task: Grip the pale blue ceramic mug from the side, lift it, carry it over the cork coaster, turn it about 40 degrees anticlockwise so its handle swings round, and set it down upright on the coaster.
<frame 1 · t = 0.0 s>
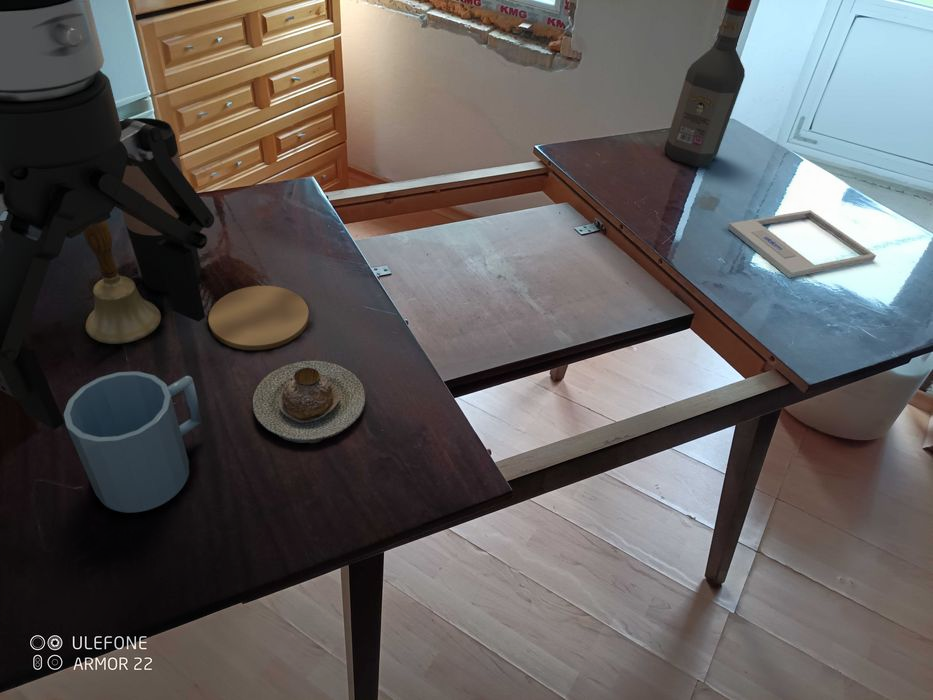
hand: (124, 361, 51), 19 cm above the table, tool pointing down, fingers open, 13 cm apart
coaster: (259, 318, 85), on the table
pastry: (310, 406, 75), on the table
hand bell: (124, 323, 83), on the table
photo frame: (798, 245, 112), on the table
liquor: (688, 156, 135), on the table
travel mug: (172, 277, 90), on the table
mug: (143, 476, 66), on the table
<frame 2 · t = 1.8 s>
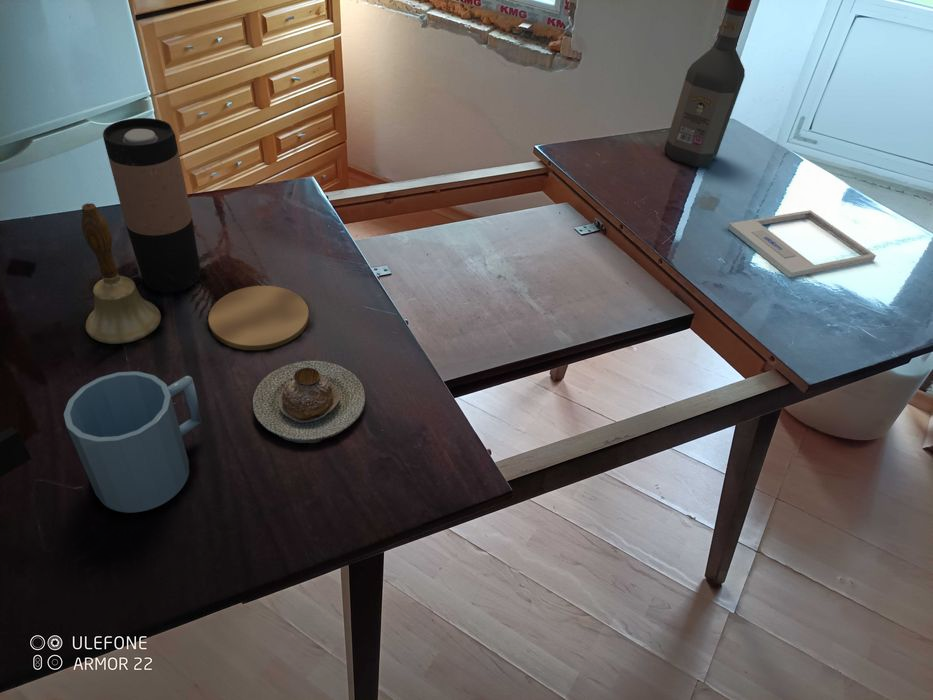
nothing on the table moved.
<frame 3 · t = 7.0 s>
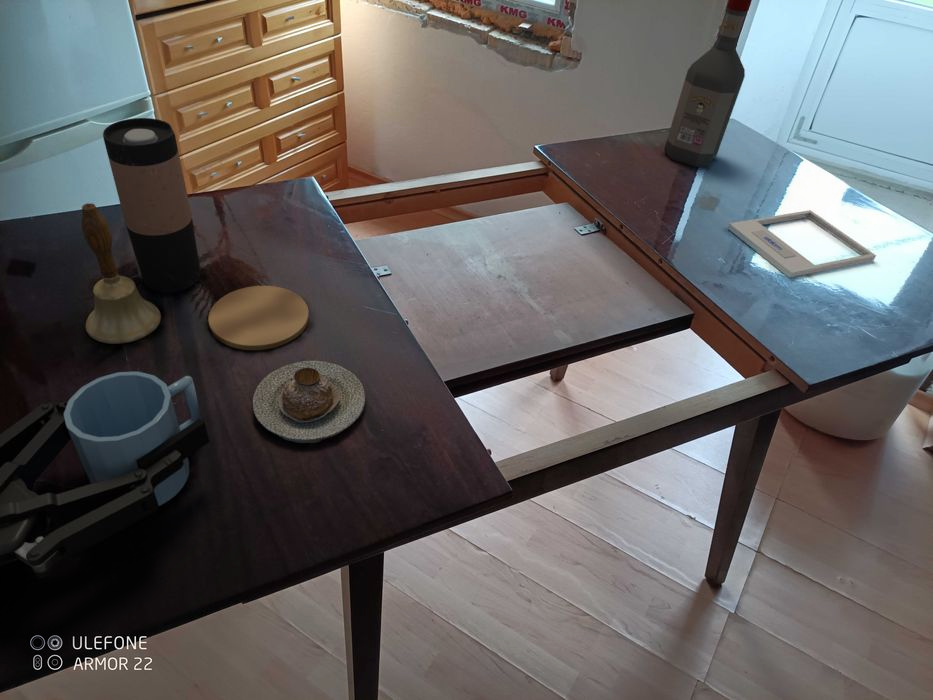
hand: (172, 407, 65), 6 cm above the table, tool horizontal, fingers closed on mug, 8 cm apart
mug: (143, 476, 66), on the table, touching gripper
everything else where it was.
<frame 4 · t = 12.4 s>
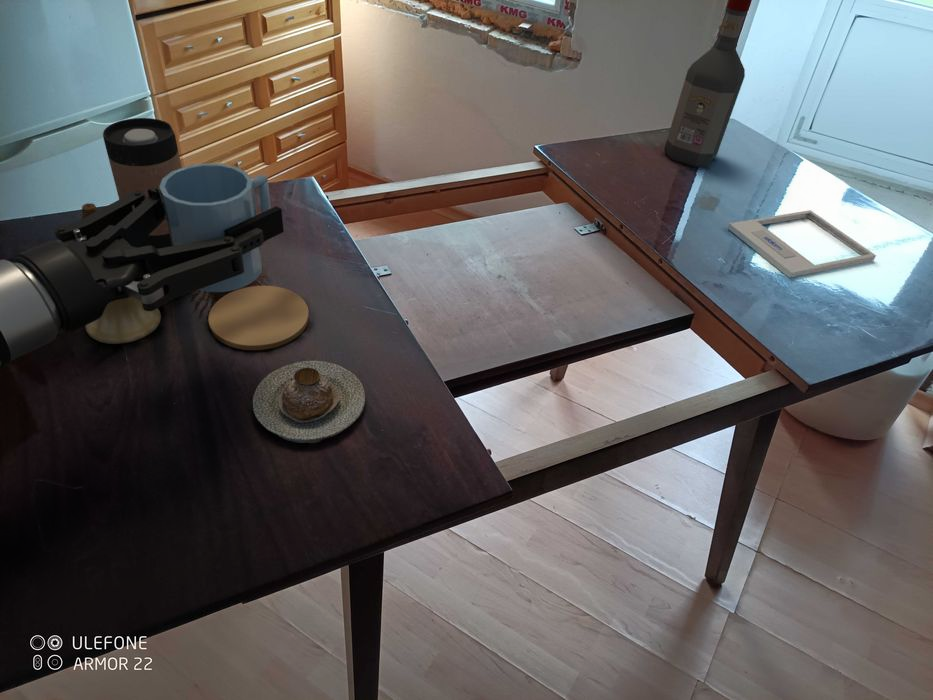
hand: (249, 203, 72), 18 cm above the table, tool horizontal, fingers closed on mug, 8 cm apart
mug: (221, 268, 73), point 12 cm above the table, touching gripper
everything else where it was.
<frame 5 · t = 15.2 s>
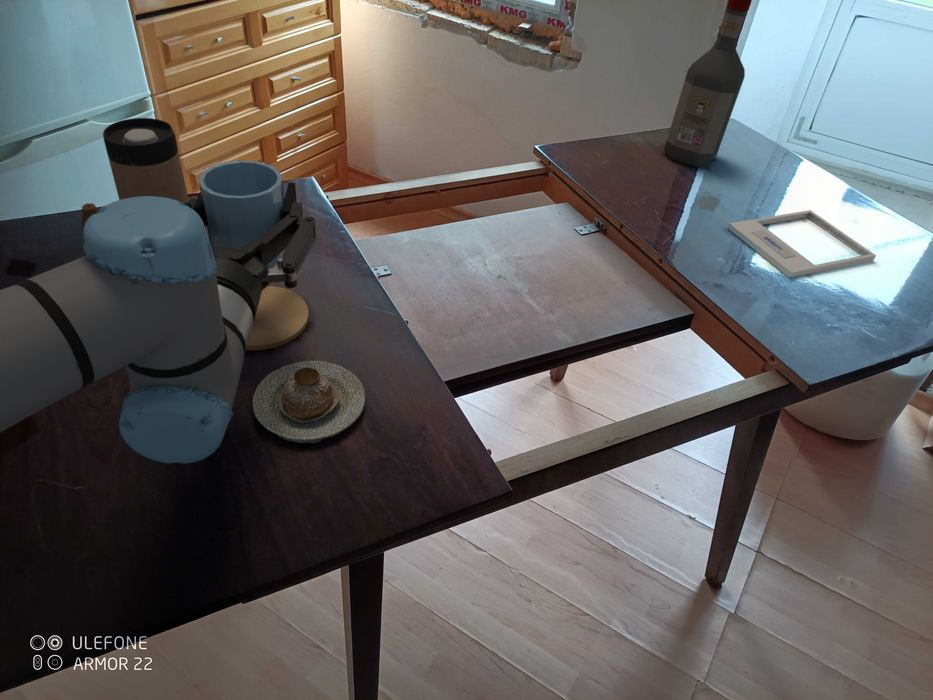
hand: (252, 191, 79), 15 cm above the table, tool horizontal, fingers closed on mug, 8 cm apart
mug: (251, 257, 79), point 9 cm above the table, touching gripper
everything else where it was.
when the fingers open (7 cm above the table, at t = 17.9 s): mug stays where it is, resting on coaster.
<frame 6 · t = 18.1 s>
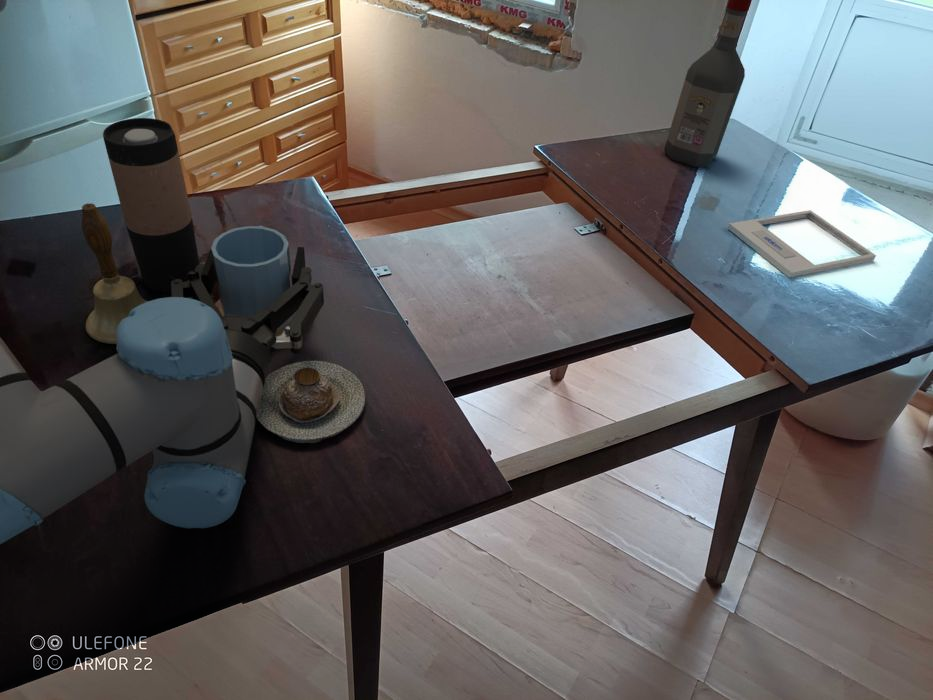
hand: (259, 254, 84), 7 cm above the table, tool horizontal, fingers open, 9 cm apart
mug: (259, 313, 85), point 1 cm above the table, touching coaster
everything else where it was.
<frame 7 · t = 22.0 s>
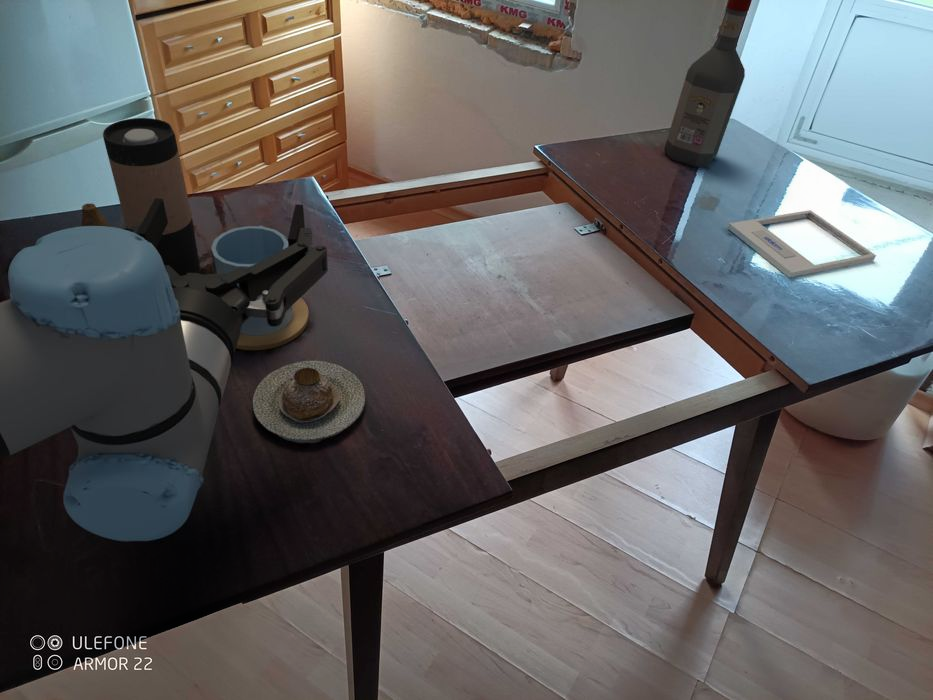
hand: (231, 213, 69), 18 cm above the table, tool horizontal, fingers open, 13 cm apart
nothing on the table moved.
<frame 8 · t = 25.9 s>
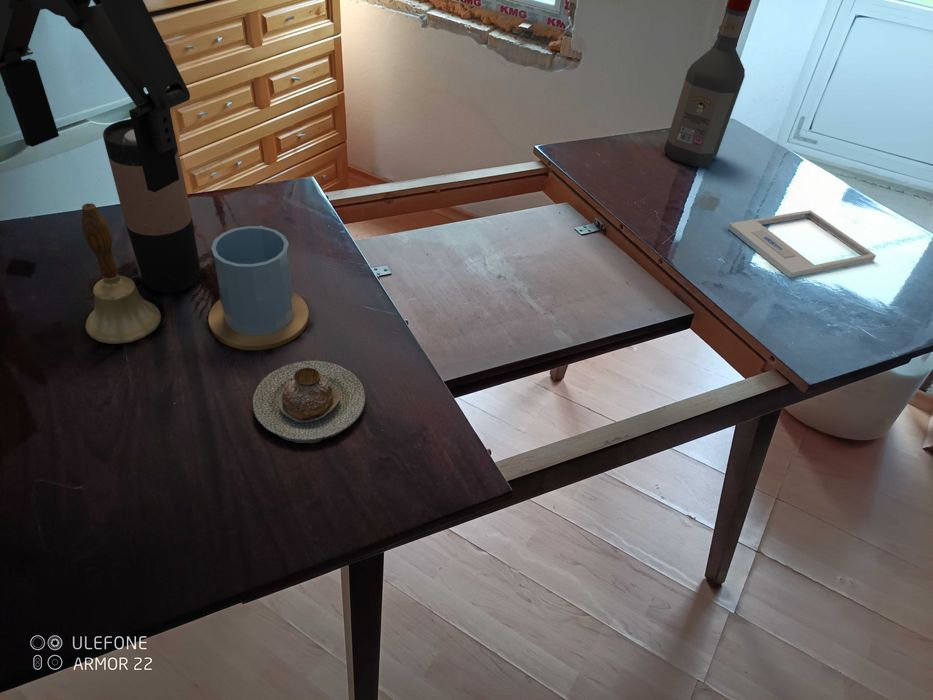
hand: (101, 162, 58), 27 cm above the table, tool pointing down, fingers open, 13 cm apart
nothing on the table moved.
at the end: mug 0.0 cm off-centre on the coaster, point 0.8 cm above the coaster's base; mug tilted 0°; the gripper is holding nothing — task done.
